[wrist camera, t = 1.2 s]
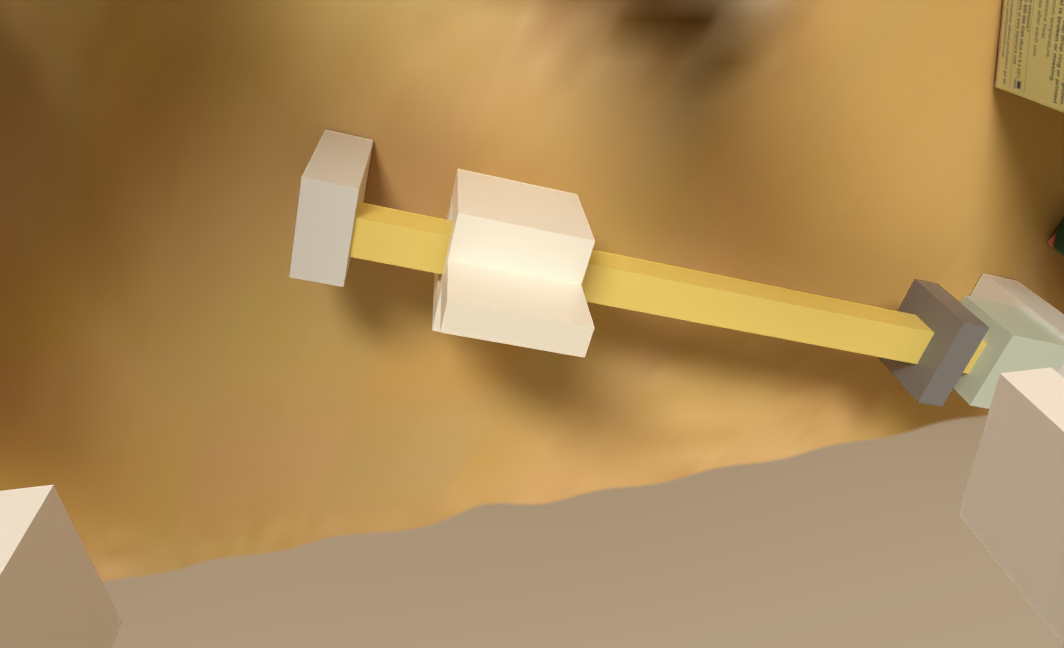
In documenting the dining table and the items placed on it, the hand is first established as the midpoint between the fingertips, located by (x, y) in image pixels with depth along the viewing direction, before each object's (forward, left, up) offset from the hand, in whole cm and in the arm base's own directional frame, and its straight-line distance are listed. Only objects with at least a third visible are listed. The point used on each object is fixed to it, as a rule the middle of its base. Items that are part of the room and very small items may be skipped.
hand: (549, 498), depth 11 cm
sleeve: (+2, -5, -22) cm, 23 cm away
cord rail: (+11, -5, -25) cm, 28 cm away
